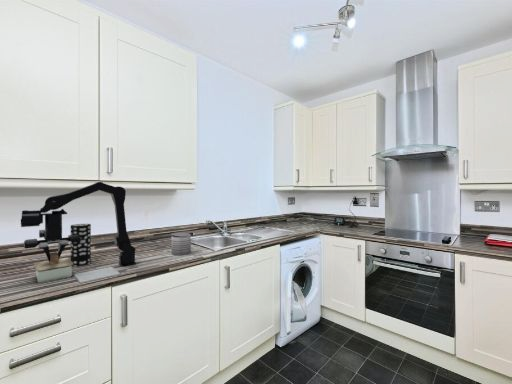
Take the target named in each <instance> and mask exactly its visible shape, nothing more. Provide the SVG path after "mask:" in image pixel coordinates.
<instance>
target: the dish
mask: <svg viewBox="0 0 512 384" xmlns="http://www.w3.org/2000/svg"><path fill="white" fill-rule="evenodd" d="M72 271H73V266H71V265H70V266H64V267H59V268H56V269H51V270H50V269H47V270H41V271H36V270H35V277H36V281H37V283H38V284H42V283H46V282H52V281H56V280H61V278H62V279H65V278H66V277H67V278H71V276H73V275H72V273H73V272H72Z"/></svg>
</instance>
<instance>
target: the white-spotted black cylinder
mask: <svg viewBox="0 0 512 384" xmlns="http://www.w3.org/2000/svg"><path fill="white" fill-rule="evenodd" d="M91 230H92V224H91V223H77V224H76V223H75V224H71V225H70V235H79V236H80V237H81V242H76V243H72V242H71V241H70V260H71V261H72V262H73V265H71V266H72V267H85V266H87V265H90V264H91V263H92V260H91V259H92V255H91V254H92V250H91V249H92V248H91V247H92V245H91V244H92V243H91V241H92V237H91V235H92V234H91V233H92V231H91Z"/></svg>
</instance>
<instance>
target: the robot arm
mask: <svg viewBox="0 0 512 384" xmlns="http://www.w3.org/2000/svg"><path fill="white" fill-rule="evenodd" d="M99 191H100V192H104V193H106V194H109V195H110V196H111V200H112V201H113V205H114V211H115V212H114V213H115V221H116V229H117V230H116V231H117V232H116V235H113V239H114V242H113V244H114V245H115V246H116V247H117V248H118V249H119V250H120V251H119V255H118V264H119V265H121V267H126V266H130V265H131V266H132V265H135V264H137V262H136V251H137V250H136V248H135V247H134V246H133V245H131V244H132V243H131V239H130V237H129V234H128V231H127V223H126V212H125V200H126V189H125V188H124V187H122V186H114V185H110V184H108V183H105V182H102V181H97V182H95V183H92V184H90V185H87V186H84V187H81V188H78V189H76V190H72V191H70V192H66V193H62V194H57V195H51V196H49V197H48V198H46V200H45V202H44V205H43V207H40V209H39V210H27V209H26V210H22V211H21V218H20V228H30V227H40V226H41V224H44V229H40V230H38V232H39V233H38V238H43V239H40V240H39V239H37V238H33V239H32V238H31V239H30V238H29V239H25V240H24V241H23V248H24V249H26V250H27V249H32V248H33V249H34V248H36V247H37V246H38V248H39V249H40V250H41V249H42V250H43V251H44V253H45V256H46V258H47V261H49V262H50V253H51V252H50V247H49V244H57V243H58V245H57V246H58V249H57V254H58V260H59V259H61V256H62V253H63V251H64V250H65V248H66V247H67V246H69V242H70V243H71V242H72V243H76V242H81V237H80V236H79V235H71V234H70V235H68V236H66V237H63V215H68V212H67V211H66V210H64V208H63V207H64V206H66V205H67V204H69V203H71V202H72V201H74V200H77V199H80V198H82V197H85V196H87V195H91V194H92V193H96V192H99ZM59 209H60V210H59ZM49 211H51V212H49ZM48 212H49V213H48Z"/></svg>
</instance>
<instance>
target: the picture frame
mask: <svg viewBox="0 0 512 384" xmlns="http://www.w3.org/2000/svg"><path fill="white" fill-rule="evenodd" d="M119 275H120V276H121V273H120V271H118V270H117V269H116V268H114V267H113V266H109V267H105V268H100V269H94V270H89V271H84V272H78V273H74V274H73V276H74V278H75V279H76V278H77V279H76V280H77V282H79V284H84V283H88V282H89V283H90V282H93V281H97V280H102V279H106V278H111V277H116V276H119Z"/></svg>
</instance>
